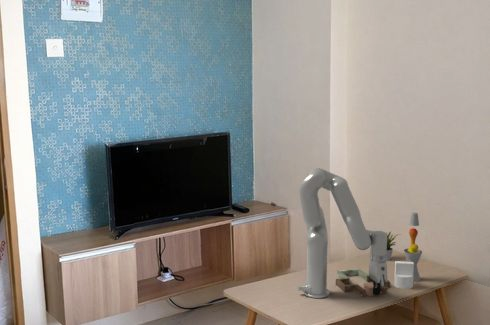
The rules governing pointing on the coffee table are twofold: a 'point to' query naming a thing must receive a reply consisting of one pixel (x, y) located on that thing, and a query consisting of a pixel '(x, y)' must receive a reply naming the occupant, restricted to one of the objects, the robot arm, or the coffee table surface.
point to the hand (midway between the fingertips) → (376, 294)
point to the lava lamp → (413, 247)
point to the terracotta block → (369, 288)
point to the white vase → (403, 274)
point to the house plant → (389, 250)
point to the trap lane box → (347, 287)
